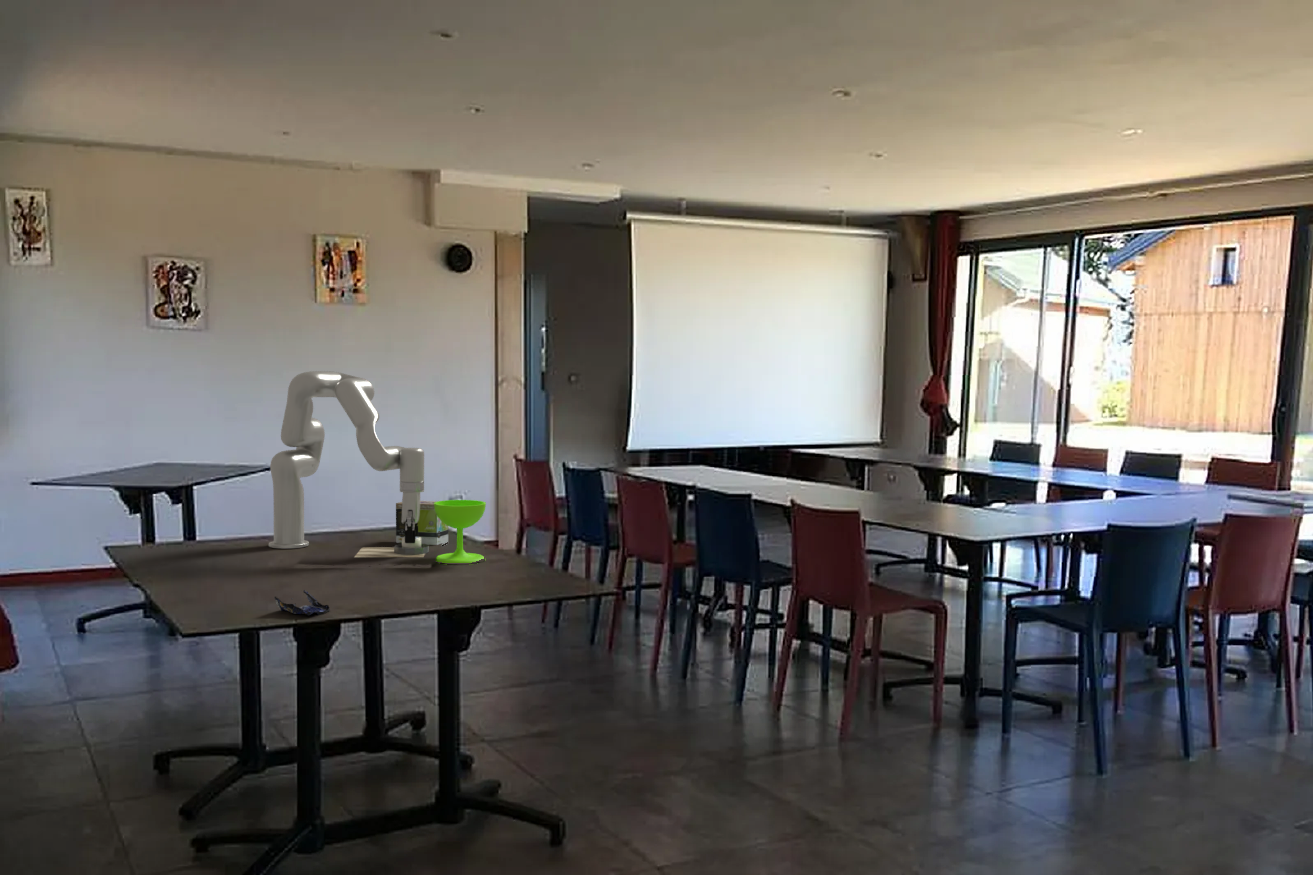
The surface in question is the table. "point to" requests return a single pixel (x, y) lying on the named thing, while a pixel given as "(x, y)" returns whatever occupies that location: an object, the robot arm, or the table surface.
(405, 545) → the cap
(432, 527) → the tea box
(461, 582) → the table surface
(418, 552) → the grey faceted ring
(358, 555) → the board
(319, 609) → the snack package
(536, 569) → the table surface
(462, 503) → the wineglass
